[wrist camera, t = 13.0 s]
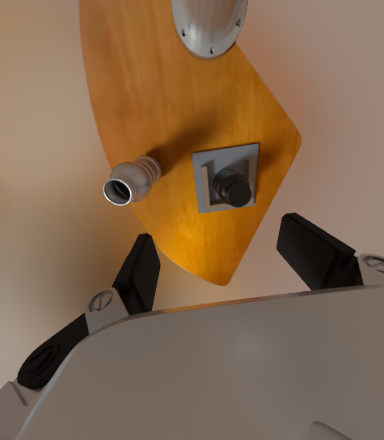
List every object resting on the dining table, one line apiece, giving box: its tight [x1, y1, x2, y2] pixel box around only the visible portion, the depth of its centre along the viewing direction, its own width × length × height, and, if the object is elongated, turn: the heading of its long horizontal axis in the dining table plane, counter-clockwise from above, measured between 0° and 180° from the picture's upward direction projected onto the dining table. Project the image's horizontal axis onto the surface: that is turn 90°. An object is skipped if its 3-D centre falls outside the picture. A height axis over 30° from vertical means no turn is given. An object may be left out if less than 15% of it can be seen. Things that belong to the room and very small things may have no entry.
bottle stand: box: [192, 144, 259, 213], centre depth 37 cm, size 16×16×4 cm
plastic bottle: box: [103, 155, 162, 205], centre depth 28 cm, size 6×7×20 cm
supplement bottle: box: [213, 169, 252, 208], centre depth 32 cm, size 7×7×12 cm
